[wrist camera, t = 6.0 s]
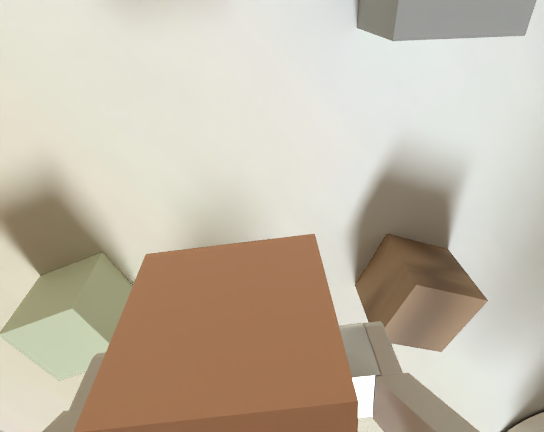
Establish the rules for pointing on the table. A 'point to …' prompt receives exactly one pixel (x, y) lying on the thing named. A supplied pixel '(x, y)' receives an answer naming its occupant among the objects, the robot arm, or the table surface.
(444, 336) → the walnut cube
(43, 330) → the sage cube
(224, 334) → the terracotta cube
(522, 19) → the slate grey cube
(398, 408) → the robot arm
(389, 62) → the table surface
